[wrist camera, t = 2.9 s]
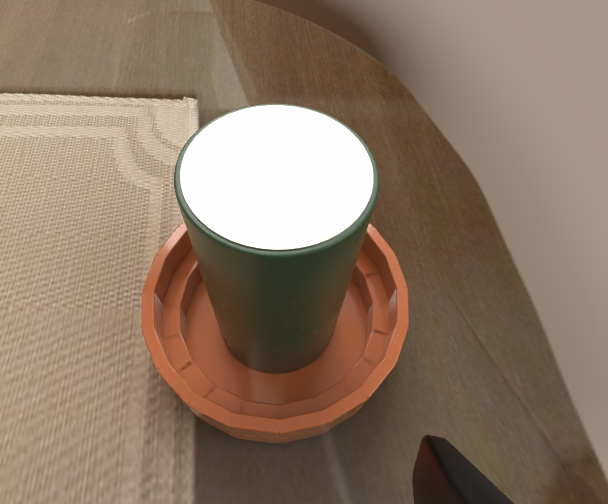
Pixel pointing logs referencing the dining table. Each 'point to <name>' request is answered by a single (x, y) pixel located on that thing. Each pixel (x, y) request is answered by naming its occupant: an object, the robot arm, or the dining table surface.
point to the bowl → (267, 386)
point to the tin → (276, 226)
